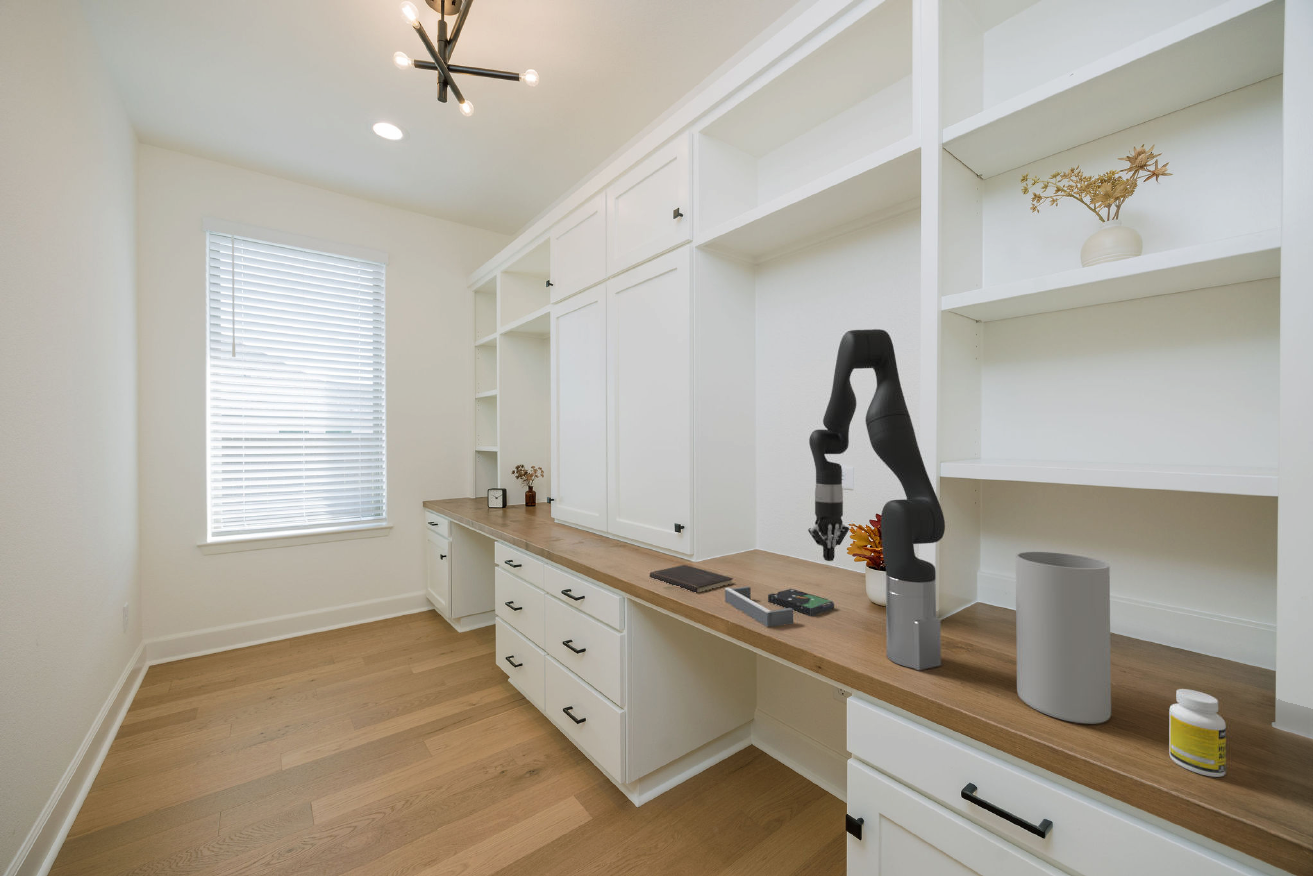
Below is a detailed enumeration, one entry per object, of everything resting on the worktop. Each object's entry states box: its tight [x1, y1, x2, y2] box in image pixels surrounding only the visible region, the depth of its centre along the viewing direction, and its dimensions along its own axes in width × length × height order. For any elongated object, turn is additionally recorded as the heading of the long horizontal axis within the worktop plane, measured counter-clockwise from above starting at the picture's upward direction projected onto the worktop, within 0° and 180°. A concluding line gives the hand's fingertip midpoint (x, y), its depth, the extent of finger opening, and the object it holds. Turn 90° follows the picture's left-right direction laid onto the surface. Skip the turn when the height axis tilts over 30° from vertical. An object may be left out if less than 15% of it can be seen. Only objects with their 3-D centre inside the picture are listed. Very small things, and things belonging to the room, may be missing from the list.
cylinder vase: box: [1015, 551, 1112, 725], centre depth 86 cm, size 12×12×25 cm
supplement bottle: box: [1168, 688, 1227, 778], centre depth 70 cm, size 5×5×10 cm
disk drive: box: [767, 588, 835, 617], centre depth 139 cm, size 10×3×15 cm
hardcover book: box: [649, 564, 734, 594], centre depth 164 cm, size 16×23×2 cm
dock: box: [724, 585, 794, 628], centre depth 134 cm, size 21×8×4 cm, turn 21°
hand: (828, 560), depth 143 cm, fingers closed
